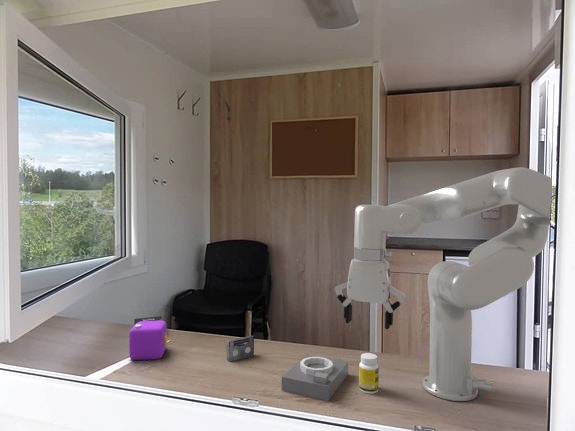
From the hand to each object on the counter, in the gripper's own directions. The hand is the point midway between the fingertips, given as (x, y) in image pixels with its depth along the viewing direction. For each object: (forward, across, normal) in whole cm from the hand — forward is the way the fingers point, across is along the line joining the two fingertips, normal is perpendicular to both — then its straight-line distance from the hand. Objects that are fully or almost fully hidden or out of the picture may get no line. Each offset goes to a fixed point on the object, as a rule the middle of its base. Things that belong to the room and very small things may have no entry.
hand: (367, 324), depth 95 cm
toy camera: (+17, +66, +6) cm, 68 cm away
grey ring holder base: (+16, +12, +2) cm, 21 cm away
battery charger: (+18, +80, -9) cm, 83 cm away
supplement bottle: (+16, 0, 0) cm, 16 cm away
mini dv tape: (+17, +38, -3) cm, 42 cm away
